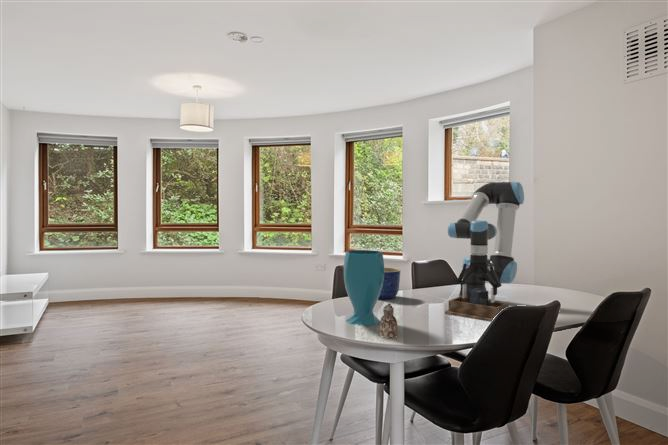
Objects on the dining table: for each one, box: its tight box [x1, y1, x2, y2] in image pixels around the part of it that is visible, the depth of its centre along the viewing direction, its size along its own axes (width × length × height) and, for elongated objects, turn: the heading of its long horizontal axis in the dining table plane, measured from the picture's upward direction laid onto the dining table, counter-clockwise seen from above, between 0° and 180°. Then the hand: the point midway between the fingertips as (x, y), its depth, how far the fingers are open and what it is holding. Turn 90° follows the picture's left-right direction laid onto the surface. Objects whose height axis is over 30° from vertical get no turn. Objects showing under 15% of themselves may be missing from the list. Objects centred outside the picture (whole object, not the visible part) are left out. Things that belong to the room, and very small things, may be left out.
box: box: [468, 288, 489, 306], centre depth 206 cm, size 8×6×11 cm
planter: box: [378, 266, 401, 300], centre depth 244 cm, size 17×17×15 cm
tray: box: [444, 296, 509, 322], centre depth 207 cm, size 25×16×6 cm, turn 50°
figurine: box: [378, 303, 399, 338], centre depth 173 cm, size 7×7×12 cm
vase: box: [343, 249, 385, 326], centre depth 194 cm, size 17×17×30 cm
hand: (478, 300), depth 207 cm, fingers open, 13 cm apart
